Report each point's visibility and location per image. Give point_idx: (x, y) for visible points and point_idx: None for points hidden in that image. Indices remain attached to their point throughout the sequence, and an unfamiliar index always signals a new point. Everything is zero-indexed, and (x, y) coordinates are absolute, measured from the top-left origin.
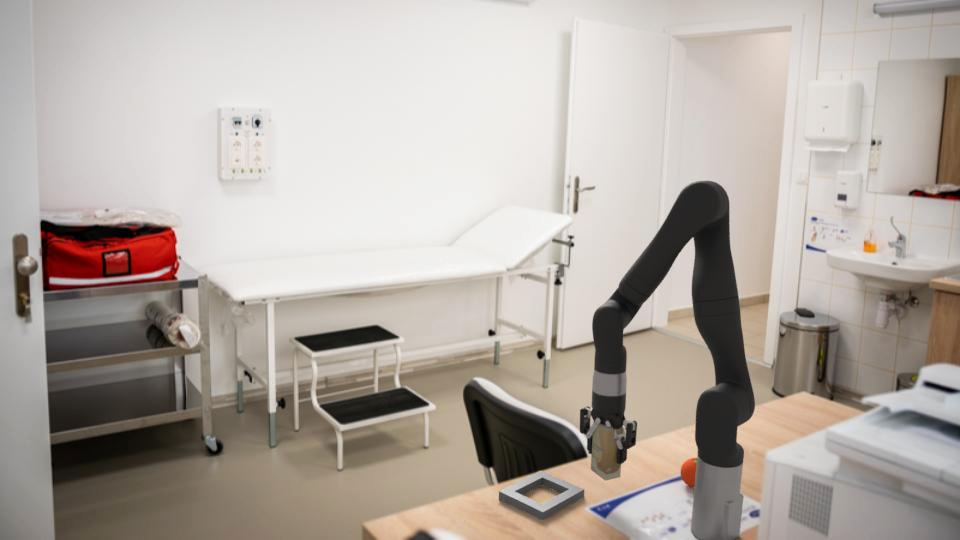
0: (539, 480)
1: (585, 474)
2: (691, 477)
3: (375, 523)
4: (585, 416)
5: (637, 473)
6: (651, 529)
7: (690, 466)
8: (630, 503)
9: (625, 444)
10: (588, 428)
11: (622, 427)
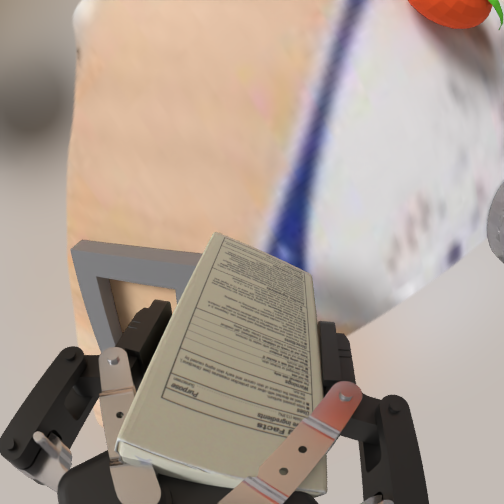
0: (100, 282)
1: (129, 135)
2: (459, 26)
3: (100, 425)
4: (70, 466)
5: (247, 8)
6: (417, 284)
7: (463, 3)
8: (331, 202)
9: (361, 444)
10: (86, 382)
11: (318, 494)
